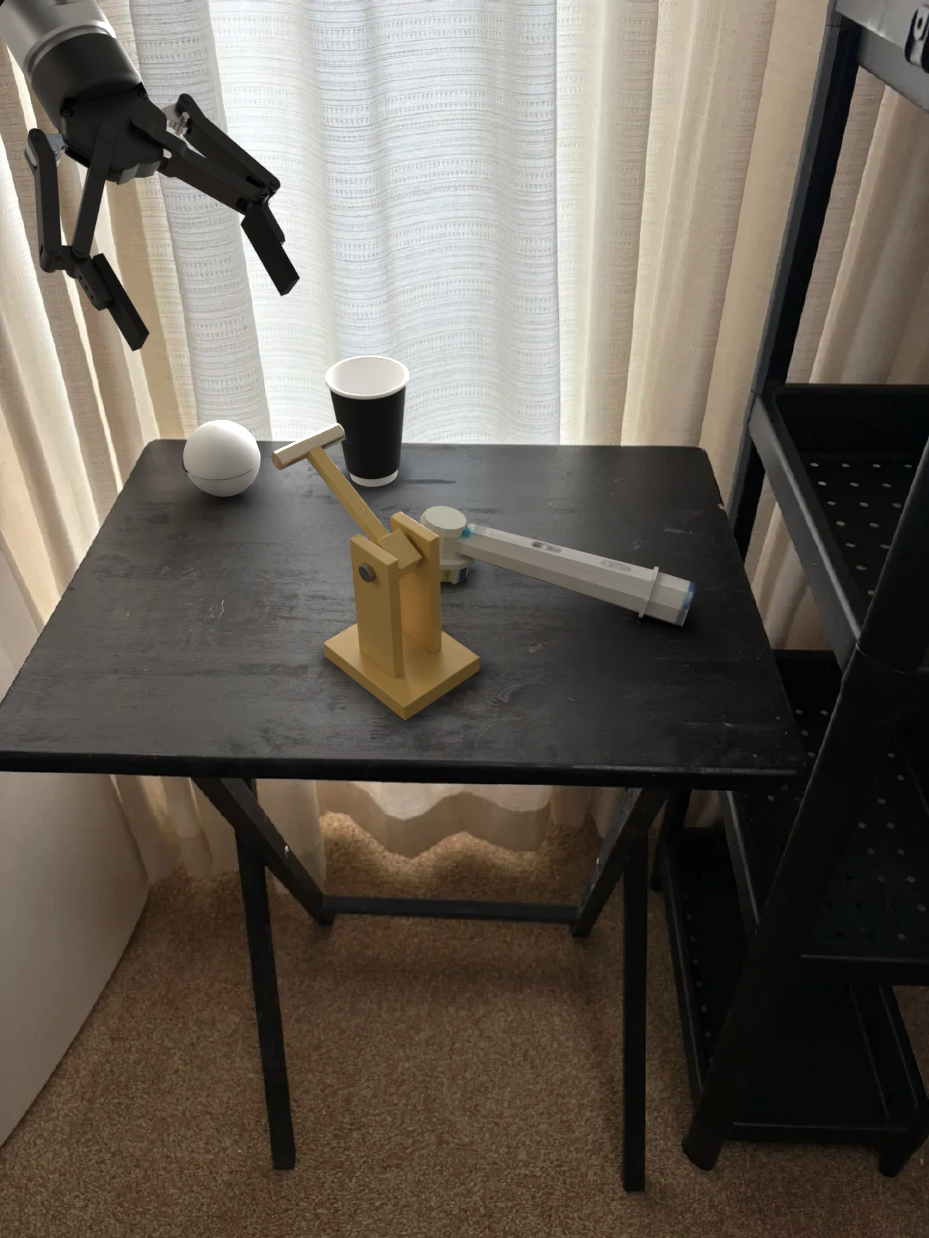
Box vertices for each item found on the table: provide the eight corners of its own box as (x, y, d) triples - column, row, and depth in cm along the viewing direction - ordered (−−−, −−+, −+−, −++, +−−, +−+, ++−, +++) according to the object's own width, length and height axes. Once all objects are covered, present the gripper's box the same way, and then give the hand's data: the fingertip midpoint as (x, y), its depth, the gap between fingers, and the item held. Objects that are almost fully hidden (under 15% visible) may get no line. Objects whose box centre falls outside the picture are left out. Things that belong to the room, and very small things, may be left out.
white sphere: (206, 465, 107) (193, 402, 102) (275, 473, 106) (266, 409, 101) (166, 522, 99) (150, 457, 95) (240, 532, 98) (228, 466, 93)
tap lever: (268, 463, 79) (273, 445, 77) (330, 434, 82) (337, 415, 80) (371, 596, 77) (379, 581, 75) (431, 561, 80) (441, 546, 78)
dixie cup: (428, 468, 106) (426, 370, 99) (378, 505, 101) (372, 405, 94) (369, 443, 110) (362, 347, 102) (318, 478, 105) (307, 379, 98)
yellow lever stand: (324, 656, 86) (308, 530, 77) (398, 611, 90) (391, 487, 81) (405, 720, 80) (397, 593, 72) (479, 670, 84) (481, 544, 76)
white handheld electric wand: (690, 605, 84) (401, 514, 88) (668, 662, 89) (395, 573, 92) (700, 567, 88) (423, 480, 92) (679, 623, 93) (415, 539, 96)
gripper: (-90, 60, 69) (79, 346, 71) (228, 1, 82) (364, 244, 84) (-94, 127, 75) (61, 388, 77) (201, 62, 88) (328, 288, 90)
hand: (219, 314), depth 80 cm, fingers open, 13 cm apart
